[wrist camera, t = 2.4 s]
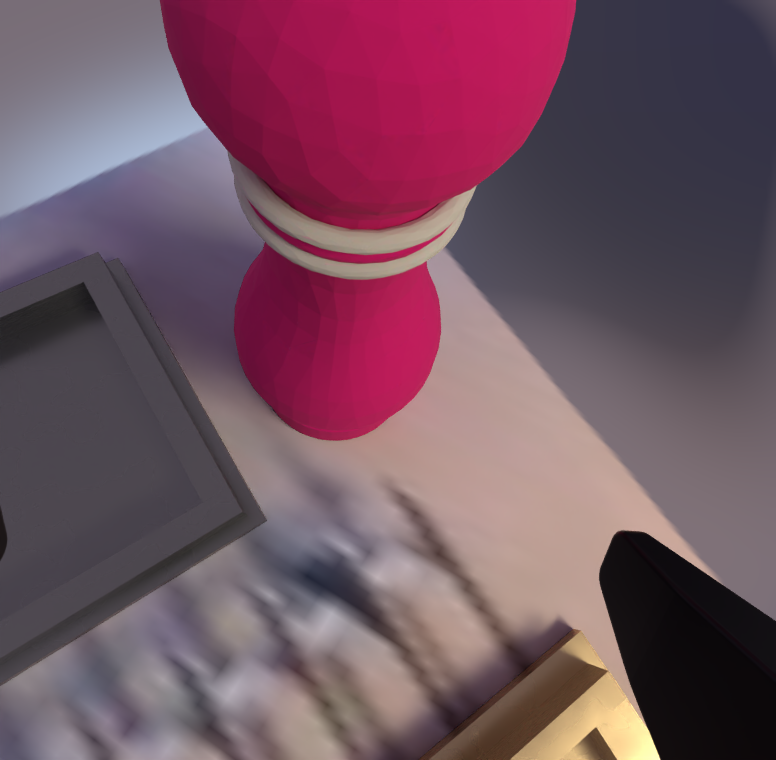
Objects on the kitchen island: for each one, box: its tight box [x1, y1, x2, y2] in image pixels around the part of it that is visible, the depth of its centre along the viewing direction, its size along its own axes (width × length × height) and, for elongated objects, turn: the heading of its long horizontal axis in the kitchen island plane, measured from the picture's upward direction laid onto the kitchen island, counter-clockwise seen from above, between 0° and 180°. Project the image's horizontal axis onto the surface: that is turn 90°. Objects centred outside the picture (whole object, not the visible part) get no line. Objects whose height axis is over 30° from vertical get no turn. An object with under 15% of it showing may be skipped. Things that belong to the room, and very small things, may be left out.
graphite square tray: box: [0, 252, 267, 686], centre depth 19 cm, size 13×13×2 cm
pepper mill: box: [160, 0, 576, 440], centre depth 13 cm, size 7×7×20 cm
